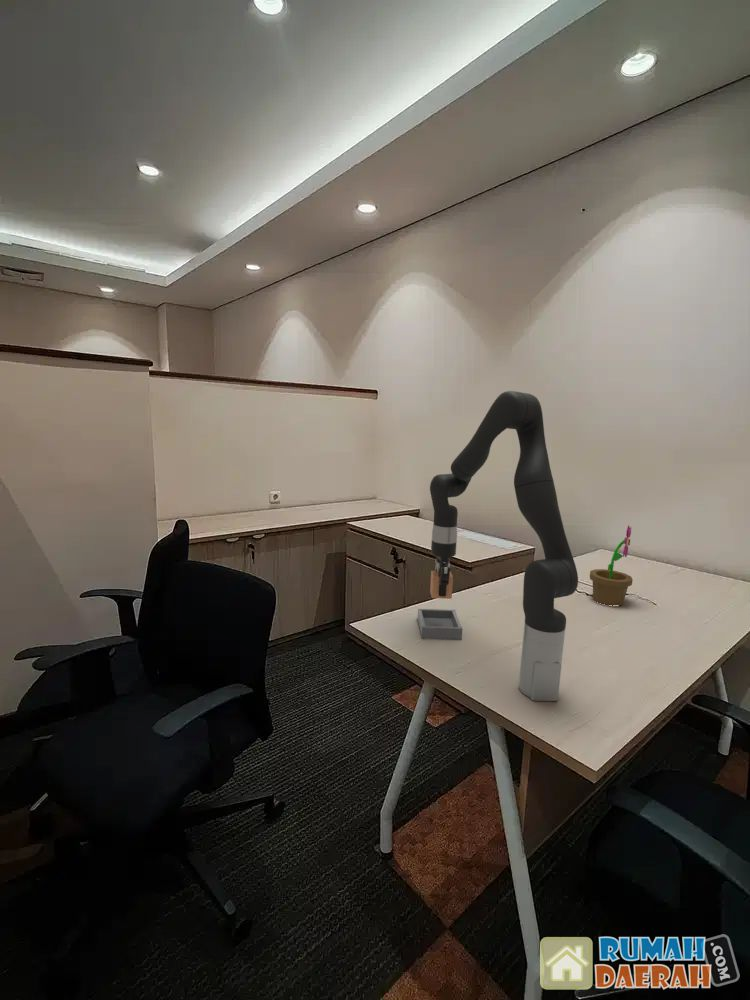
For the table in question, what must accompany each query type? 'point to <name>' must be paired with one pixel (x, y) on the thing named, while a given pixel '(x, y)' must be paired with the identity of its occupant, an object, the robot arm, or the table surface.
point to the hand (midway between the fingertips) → (440, 592)
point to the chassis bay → (439, 624)
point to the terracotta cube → (435, 586)
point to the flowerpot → (612, 579)
